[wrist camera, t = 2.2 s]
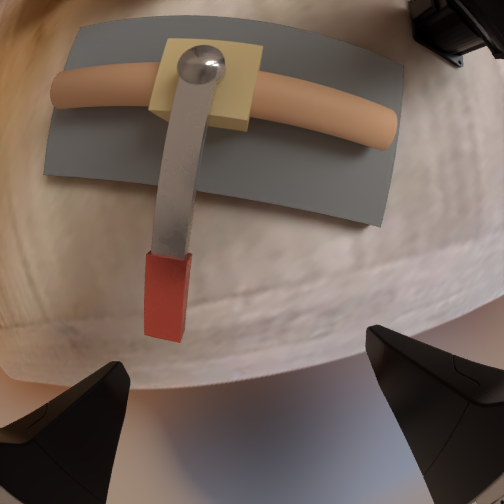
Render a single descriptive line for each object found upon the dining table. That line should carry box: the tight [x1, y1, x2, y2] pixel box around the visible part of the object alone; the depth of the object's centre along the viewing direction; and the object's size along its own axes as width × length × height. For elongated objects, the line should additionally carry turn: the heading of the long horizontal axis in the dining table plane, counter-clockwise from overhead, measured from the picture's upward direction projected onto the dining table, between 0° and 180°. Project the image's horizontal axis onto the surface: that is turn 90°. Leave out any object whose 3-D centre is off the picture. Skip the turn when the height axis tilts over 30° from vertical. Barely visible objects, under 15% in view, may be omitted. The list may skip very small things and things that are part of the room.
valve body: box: [43, 15, 404, 227], centre depth 15 cm, size 28×14×6 cm, turn 80°
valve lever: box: [144, 45, 226, 343], centre depth 13 cm, size 16×2×1 cm, turn 170°
